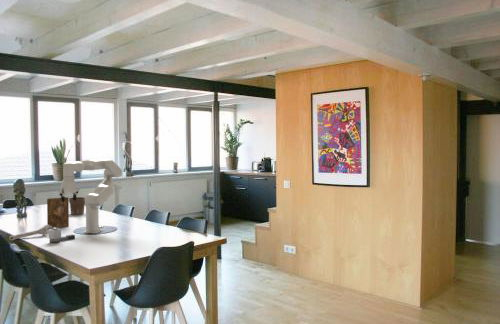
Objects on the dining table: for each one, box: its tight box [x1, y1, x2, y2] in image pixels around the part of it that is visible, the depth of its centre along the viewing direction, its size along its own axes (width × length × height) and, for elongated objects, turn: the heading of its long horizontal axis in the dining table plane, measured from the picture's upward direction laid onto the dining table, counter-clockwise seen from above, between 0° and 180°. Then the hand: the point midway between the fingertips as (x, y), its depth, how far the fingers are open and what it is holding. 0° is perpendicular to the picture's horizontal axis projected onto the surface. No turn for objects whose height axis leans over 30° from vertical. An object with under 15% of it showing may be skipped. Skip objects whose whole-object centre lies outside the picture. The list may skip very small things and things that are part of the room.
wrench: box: [8, 224, 52, 241], centre depth 321 cm, size 8×2×30 cm
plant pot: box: [68, 196, 86, 216], centre depth 425 cm, size 16×16×16 cm
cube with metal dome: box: [48, 227, 62, 240], centre depth 306 cm, size 6×6×8 cm
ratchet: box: [49, 234, 76, 244], centre depth 311 cm, size 18×7×8 cm, turn 147°
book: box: [46, 196, 70, 229], centre depth 359 cm, size 16×6×25 cm, turn 129°
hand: (68, 200), depth 320 cm, fingers open, 9 cm apart
